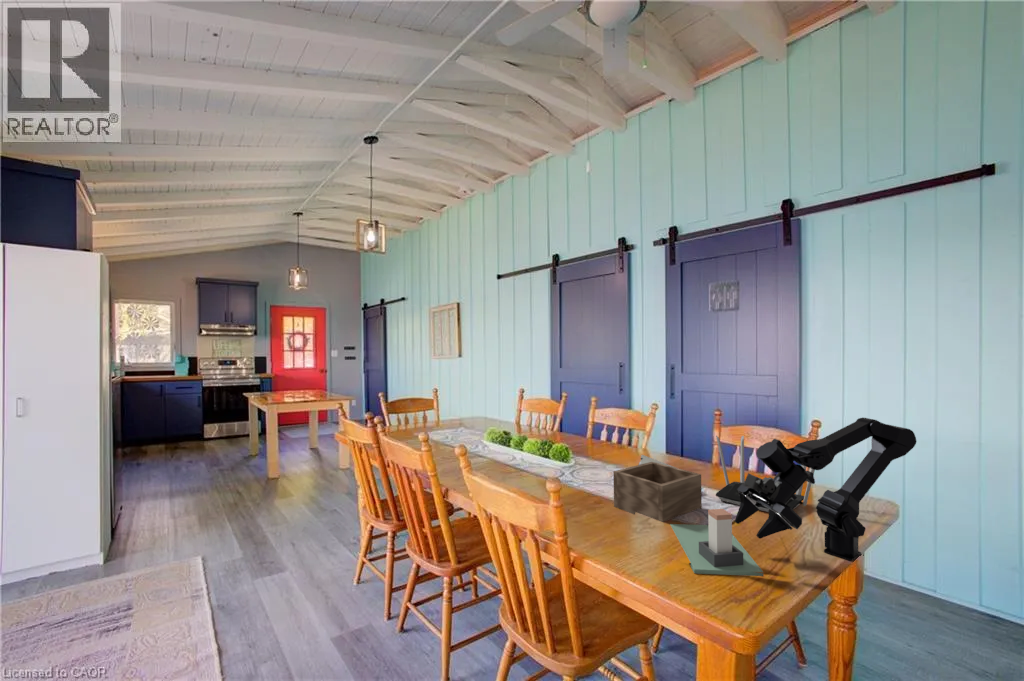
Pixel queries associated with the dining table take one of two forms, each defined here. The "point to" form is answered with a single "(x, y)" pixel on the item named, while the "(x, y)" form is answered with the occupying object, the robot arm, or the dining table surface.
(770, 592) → the dining table surface
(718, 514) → the plug
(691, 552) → the board
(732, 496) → the wireless router
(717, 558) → the dark grey tray
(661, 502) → the open wooden crate
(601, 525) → the dining table surface
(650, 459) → the decorative block
